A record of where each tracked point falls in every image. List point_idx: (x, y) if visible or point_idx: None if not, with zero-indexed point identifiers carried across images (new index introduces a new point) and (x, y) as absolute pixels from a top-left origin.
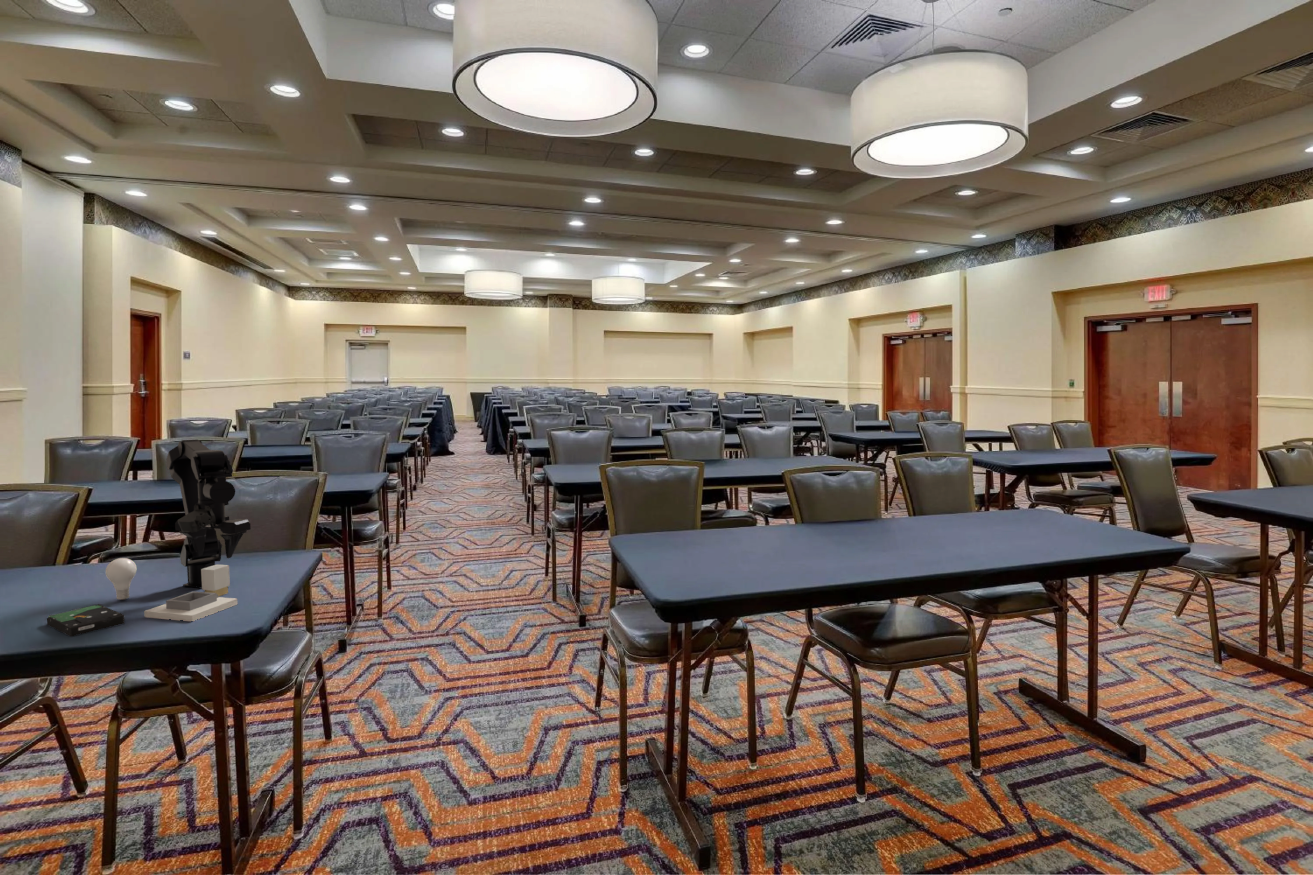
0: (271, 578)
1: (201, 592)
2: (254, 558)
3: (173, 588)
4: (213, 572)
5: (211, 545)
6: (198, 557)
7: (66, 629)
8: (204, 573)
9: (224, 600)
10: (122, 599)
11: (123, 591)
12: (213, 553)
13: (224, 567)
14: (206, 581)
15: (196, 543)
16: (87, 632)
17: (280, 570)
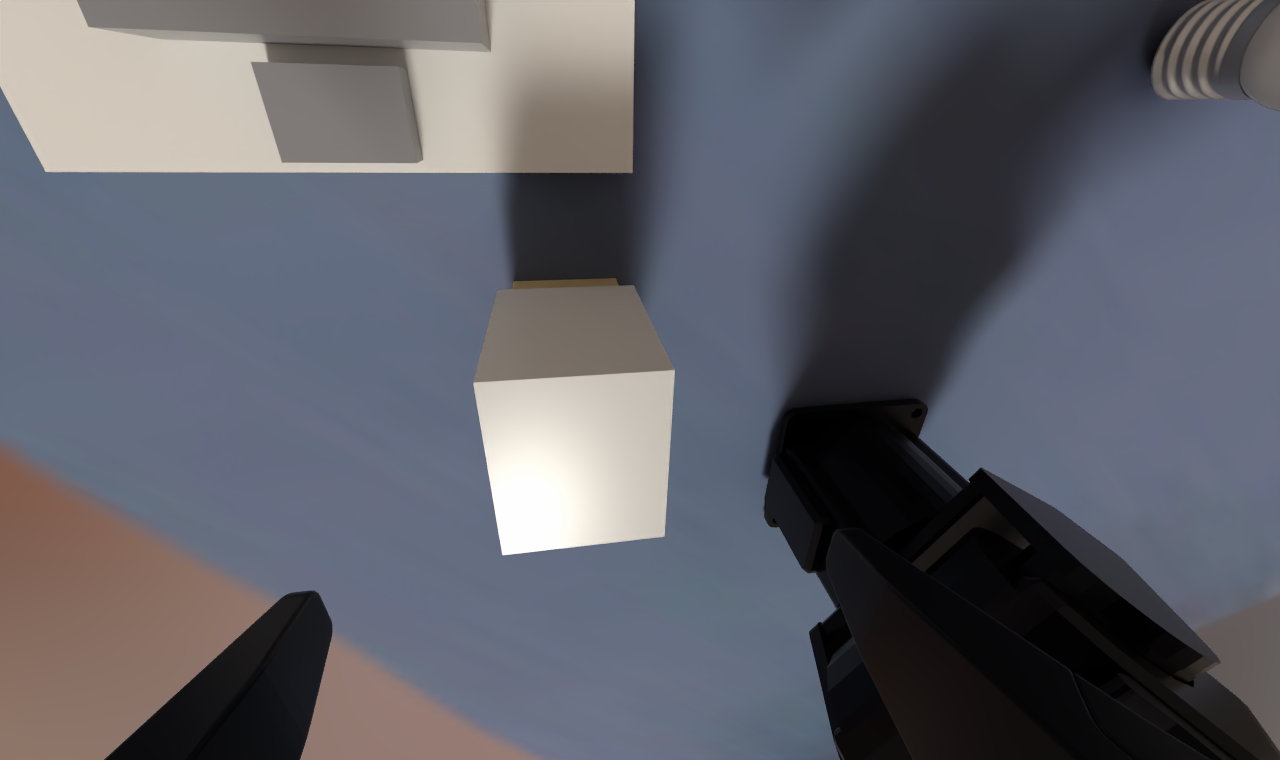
0: (536, 628)
1: (324, 11)
2: None
3: (955, 361)
4: (482, 365)
5: (906, 753)
6: (930, 573)
7: None
8: (619, 349)
9: (97, 76)
10: (1177, 23)
11: (1249, 14)
12: (847, 666)
13: (494, 503)
14: (587, 314)
15: (1009, 721)
16: None
17: (613, 699)
